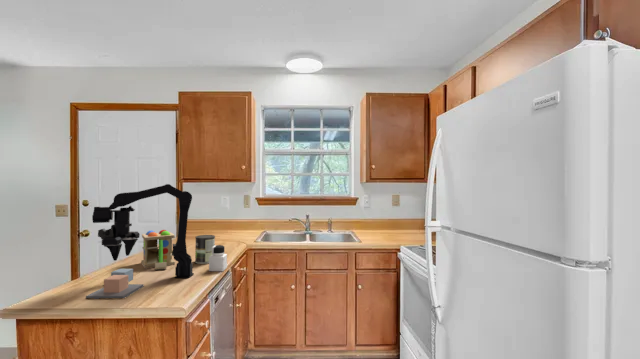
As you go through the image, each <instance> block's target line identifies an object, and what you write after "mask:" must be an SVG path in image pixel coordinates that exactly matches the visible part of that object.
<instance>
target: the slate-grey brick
mask: <svg viewBox="0 0 640 359" xmlns="http://www.w3.org/2000/svg"><path fill="white" fill-rule="evenodd" d="M113 275H129V276H128V283H129V282H132V281H133V280H134V268H118V269H116V270H113V271H111V272H110V276H113Z"/></svg>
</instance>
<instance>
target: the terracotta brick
mask: <svg viewBox="0 0 640 359" xmlns="http://www.w3.org/2000/svg"><path fill="white" fill-rule="evenodd" d="M128 276H129V275H113V276H111V275H110V276H108V277H107V278H104V279H103V287H104V292H121V291H123V290H125V289H126V288H128V284H129V282H128Z"/></svg>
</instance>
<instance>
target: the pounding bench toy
mask: <svg viewBox="0 0 640 359" xmlns="http://www.w3.org/2000/svg"><path fill="white" fill-rule="evenodd" d="M175 237H176V235H175V234H174V233H173V232H171V231H168V230H166V229H161V230H160V231H159V232H155V231H154V230H148V231H147V232H146V233H141V238H142V239H143V246H142V250H143V253H142V254H143V257H142V259H141V261H140V263H141V265H142V267H143V268H144V269H152V268H154V270H155V271H159V270H166V269H167V266H172V265H174V266H175V265H176V260H174V259H173V255H172V250H173V239H174V238H175Z"/></svg>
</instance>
